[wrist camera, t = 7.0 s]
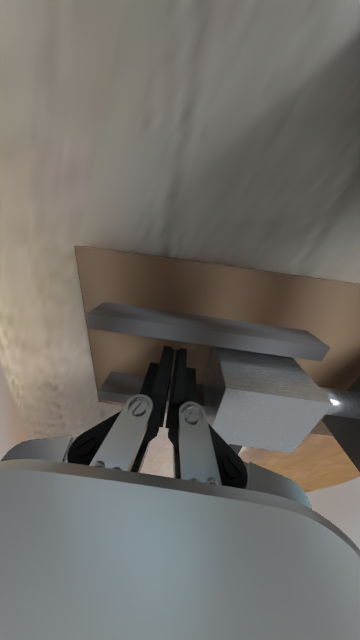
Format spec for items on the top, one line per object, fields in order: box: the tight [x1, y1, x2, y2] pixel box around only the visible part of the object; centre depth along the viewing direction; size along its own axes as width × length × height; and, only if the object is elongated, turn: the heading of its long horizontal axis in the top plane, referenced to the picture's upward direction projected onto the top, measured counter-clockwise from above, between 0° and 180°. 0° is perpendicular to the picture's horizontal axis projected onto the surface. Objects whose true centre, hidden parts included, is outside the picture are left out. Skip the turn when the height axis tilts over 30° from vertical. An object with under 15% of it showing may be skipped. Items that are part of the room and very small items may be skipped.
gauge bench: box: [74, 246, 360, 472], centre depth 10 cm, size 24×14×7 cm, turn 83°
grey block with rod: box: [203, 346, 360, 455], centre depth 11 cm, size 11×9×4 cm
